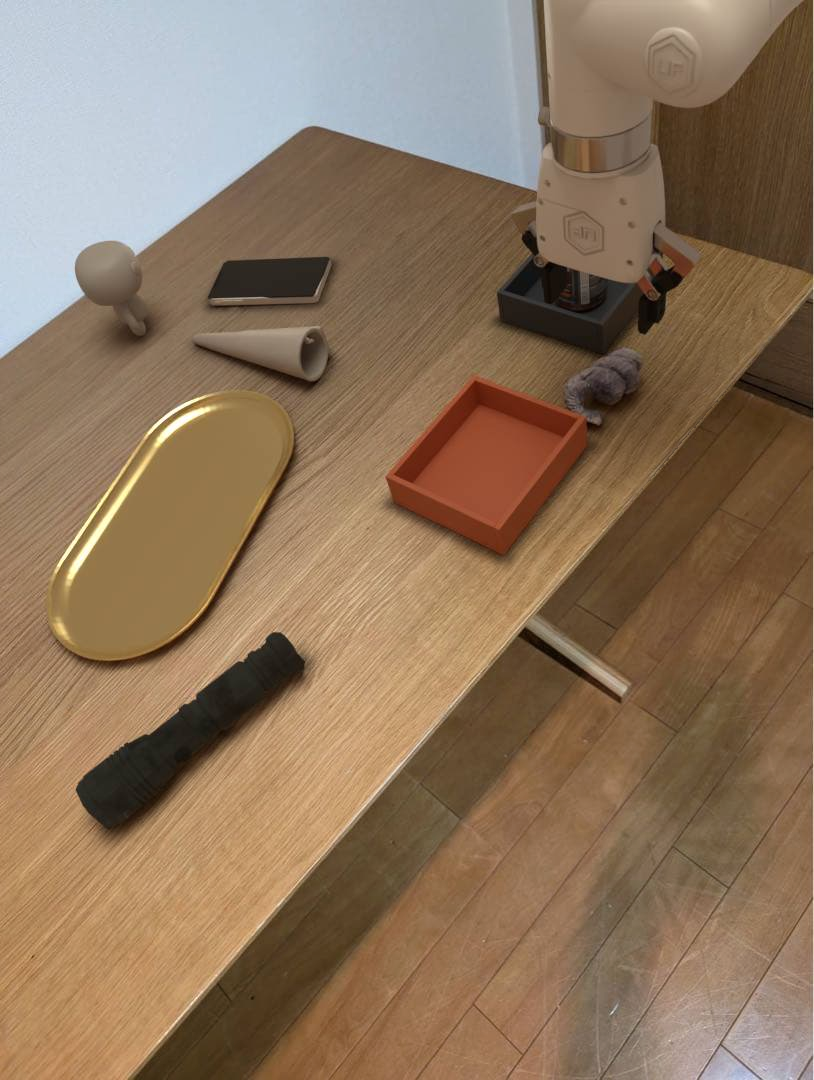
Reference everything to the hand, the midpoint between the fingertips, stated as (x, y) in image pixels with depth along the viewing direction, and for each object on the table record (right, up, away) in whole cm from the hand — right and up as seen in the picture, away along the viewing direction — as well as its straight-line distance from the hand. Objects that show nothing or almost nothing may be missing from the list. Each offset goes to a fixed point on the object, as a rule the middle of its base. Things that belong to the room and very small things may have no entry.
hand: (601, 309), depth 79 cm
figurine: (-52, +6, +32) cm, 62 cm away
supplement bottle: (+2, +6, +18) cm, 19 cm away
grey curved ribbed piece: (+3, -7, +9) cm, 12 cm away
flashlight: (-35, -39, -4) cm, 52 cm away
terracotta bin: (-10, -15, +6) cm, 19 cm away
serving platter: (-42, -19, +11) cm, 47 cm away
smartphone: (-36, +12, +32) cm, 49 cm away
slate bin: (+2, +6, +18) cm, 19 cm away
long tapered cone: (-36, 0, +24) cm, 43 cm away
